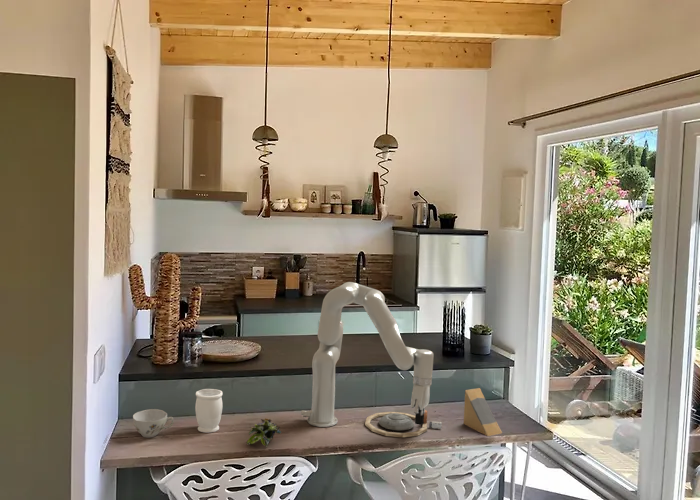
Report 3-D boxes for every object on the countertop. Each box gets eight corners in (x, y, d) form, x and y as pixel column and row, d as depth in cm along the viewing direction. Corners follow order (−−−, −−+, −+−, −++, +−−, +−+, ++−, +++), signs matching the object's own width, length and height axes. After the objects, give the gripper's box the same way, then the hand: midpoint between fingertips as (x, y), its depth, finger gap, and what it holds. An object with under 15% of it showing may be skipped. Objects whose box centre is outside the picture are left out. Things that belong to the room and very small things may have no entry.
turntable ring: (405, 442, 235) (405, 427, 235) (353, 425, 251) (354, 411, 250) (438, 424, 255) (438, 411, 255) (388, 410, 271) (389, 397, 271)
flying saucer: (419, 424, 256) (419, 411, 256) (406, 436, 243) (407, 422, 242) (386, 417, 263) (387, 405, 262) (372, 428, 249) (373, 415, 249)
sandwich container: (487, 436, 245) (490, 400, 244) (462, 424, 258) (464, 389, 257) (503, 433, 250) (505, 398, 248) (477, 421, 263) (479, 387, 262)
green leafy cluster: (265, 454, 232) (282, 426, 235) (269, 460, 222) (288, 431, 225) (241, 438, 230) (259, 411, 233) (244, 444, 220) (263, 415, 223)
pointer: (429, 428, 251) (429, 422, 251) (429, 426, 253) (429, 421, 253) (441, 429, 251) (441, 423, 251) (441, 427, 253) (441, 421, 252)
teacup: (130, 442, 225) (130, 421, 225) (134, 429, 237) (135, 409, 237) (172, 440, 229) (172, 419, 228) (174, 427, 241) (174, 408, 240)
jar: (227, 427, 243) (228, 391, 242) (211, 436, 234) (211, 398, 233) (206, 422, 248) (206, 386, 246) (189, 430, 238) (190, 393, 237)
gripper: (419, 374, 254) (416, 416, 256) (407, 383, 241) (404, 427, 242) (437, 377, 251) (433, 420, 252) (425, 386, 237) (421, 431, 239)
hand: (419, 423), depth 247 cm, fingers closed
